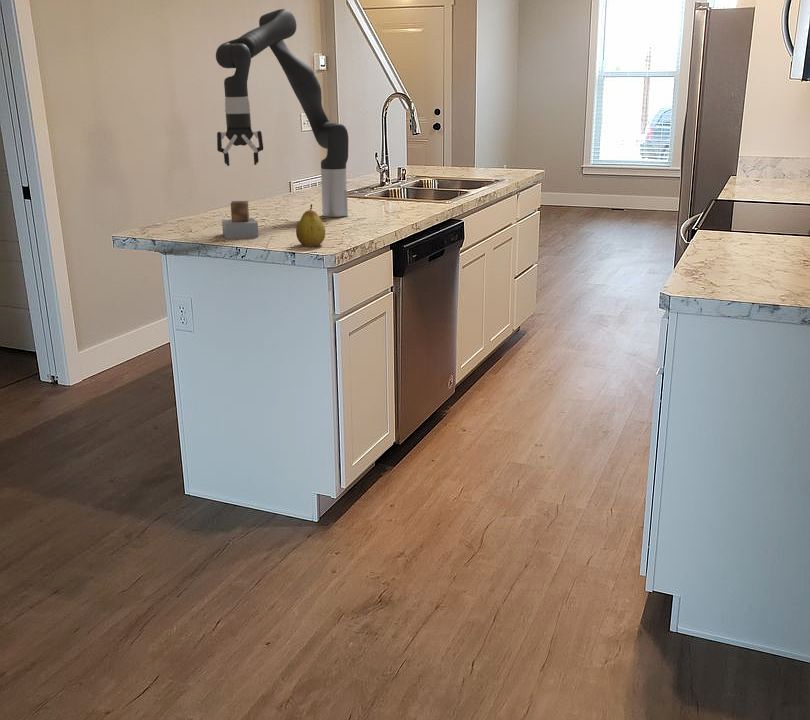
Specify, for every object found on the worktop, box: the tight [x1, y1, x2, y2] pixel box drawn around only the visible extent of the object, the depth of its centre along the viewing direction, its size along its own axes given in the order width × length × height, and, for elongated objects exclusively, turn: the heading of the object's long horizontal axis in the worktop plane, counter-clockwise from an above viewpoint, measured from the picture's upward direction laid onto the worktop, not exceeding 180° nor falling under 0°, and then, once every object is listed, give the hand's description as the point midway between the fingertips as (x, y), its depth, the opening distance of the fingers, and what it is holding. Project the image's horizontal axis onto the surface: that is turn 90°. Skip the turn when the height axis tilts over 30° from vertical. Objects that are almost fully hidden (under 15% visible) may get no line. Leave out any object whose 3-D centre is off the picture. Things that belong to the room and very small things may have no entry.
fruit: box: [295, 203, 327, 247], centre depth 252 cm, size 9×9×12 cm
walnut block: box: [230, 200, 250, 222], centre depth 269 cm, size 5×5×6 cm
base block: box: [221, 217, 259, 240], centre depth 270 cm, size 10×10×5 cm
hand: (241, 165), depth 266 cm, fingers open, 8 cm apart
